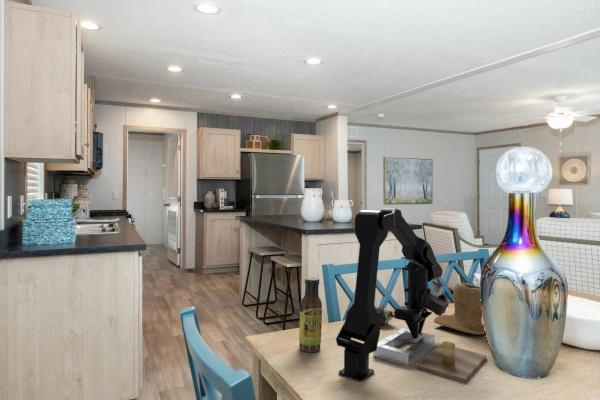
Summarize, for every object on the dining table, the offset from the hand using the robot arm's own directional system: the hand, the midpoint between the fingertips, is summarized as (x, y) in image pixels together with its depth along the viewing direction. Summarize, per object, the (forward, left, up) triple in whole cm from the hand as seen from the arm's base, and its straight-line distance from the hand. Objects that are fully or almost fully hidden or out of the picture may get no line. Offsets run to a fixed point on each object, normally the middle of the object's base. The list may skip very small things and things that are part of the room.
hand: (416, 337), depth 118 cm
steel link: (-8, 0, -2) cm, 8 cm away
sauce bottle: (-24, +21, -2) cm, 32 cm away
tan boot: (+21, -7, -2) cm, 22 cm away
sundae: (+3, +24, +1) cm, 24 cm away
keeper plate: (-8, -13, -2) cm, 15 cm away
